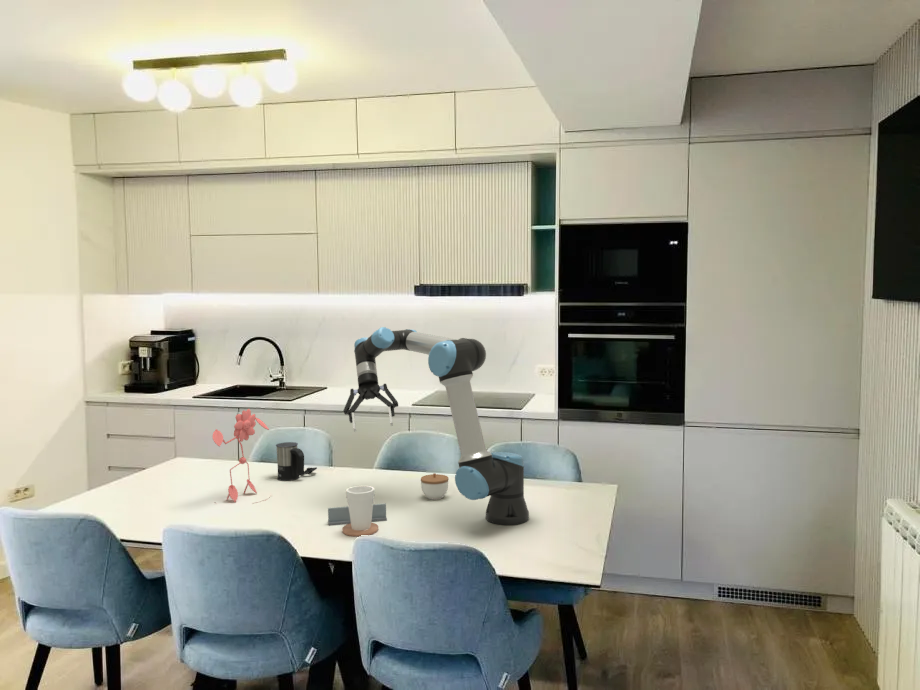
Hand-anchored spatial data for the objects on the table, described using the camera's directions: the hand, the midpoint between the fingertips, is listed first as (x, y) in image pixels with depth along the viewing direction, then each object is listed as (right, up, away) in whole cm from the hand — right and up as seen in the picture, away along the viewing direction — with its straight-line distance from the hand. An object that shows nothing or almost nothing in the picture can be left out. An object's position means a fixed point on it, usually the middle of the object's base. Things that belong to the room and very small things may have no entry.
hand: (373, 427), depth 276 cm
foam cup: (-1, -31, -23) cm, 39 cm away
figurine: (-50, -30, +16) cm, 60 cm away
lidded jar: (+22, -29, +14) cm, 39 cm away
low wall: (-4, -31, -13) cm, 34 cm away
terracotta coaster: (-2, -32, -23) cm, 39 cm away
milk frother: (-38, -27, +48) cm, 67 cm away
